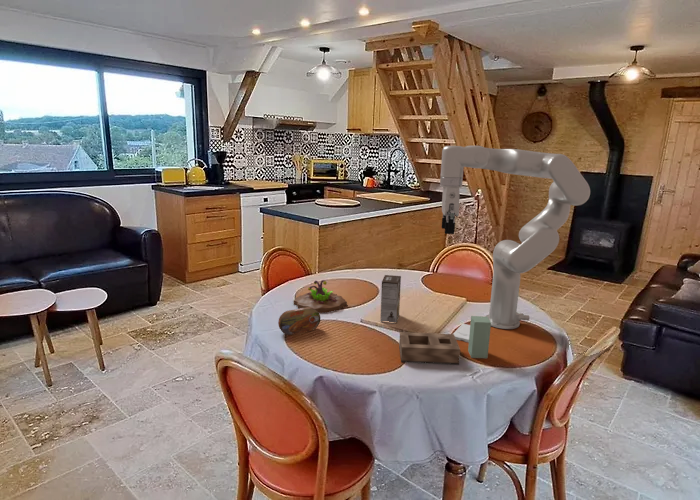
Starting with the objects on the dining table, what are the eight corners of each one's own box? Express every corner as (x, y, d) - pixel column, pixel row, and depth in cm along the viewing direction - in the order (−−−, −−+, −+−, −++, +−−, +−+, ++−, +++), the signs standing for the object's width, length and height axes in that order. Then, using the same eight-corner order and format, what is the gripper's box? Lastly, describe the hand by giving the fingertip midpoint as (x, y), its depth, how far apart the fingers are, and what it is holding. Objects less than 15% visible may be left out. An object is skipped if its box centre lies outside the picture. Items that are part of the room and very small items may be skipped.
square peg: (483, 351, 143) (487, 316, 141) (487, 358, 139) (491, 322, 136) (468, 350, 144) (471, 315, 141) (471, 357, 139) (474, 322, 136)
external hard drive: (484, 332, 159) (474, 345, 149) (462, 327, 163) (450, 339, 153) (484, 328, 158) (474, 340, 148) (462, 323, 163) (450, 335, 152)
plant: (315, 318, 169) (315, 290, 166) (287, 303, 183) (286, 277, 181) (354, 306, 182) (355, 280, 179) (325, 293, 196) (325, 269, 193)
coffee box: (383, 313, 174) (384, 274, 170) (399, 315, 172) (401, 275, 169) (379, 322, 165) (381, 281, 161) (397, 324, 164) (399, 282, 160)
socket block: (452, 348, 145) (453, 334, 144) (459, 364, 134) (460, 349, 133) (399, 346, 146) (399, 332, 145) (401, 362, 135) (401, 347, 134)
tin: (280, 337, 151) (280, 314, 149) (277, 333, 154) (277, 310, 152) (320, 329, 158) (320, 307, 156) (317, 326, 160) (317, 304, 158)
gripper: (466, 185, 144) (462, 236, 148) (458, 180, 161) (455, 227, 165) (443, 184, 145) (439, 235, 149) (437, 180, 161) (434, 226, 165)
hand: (447, 231), depth 157 cm, fingers open, 9 cm apart
